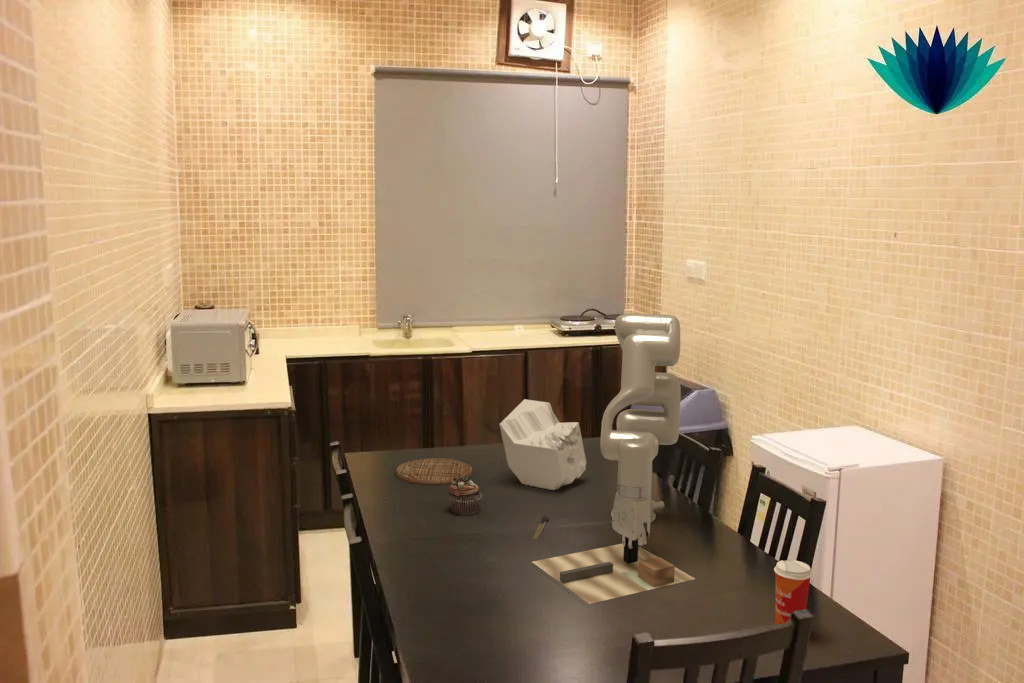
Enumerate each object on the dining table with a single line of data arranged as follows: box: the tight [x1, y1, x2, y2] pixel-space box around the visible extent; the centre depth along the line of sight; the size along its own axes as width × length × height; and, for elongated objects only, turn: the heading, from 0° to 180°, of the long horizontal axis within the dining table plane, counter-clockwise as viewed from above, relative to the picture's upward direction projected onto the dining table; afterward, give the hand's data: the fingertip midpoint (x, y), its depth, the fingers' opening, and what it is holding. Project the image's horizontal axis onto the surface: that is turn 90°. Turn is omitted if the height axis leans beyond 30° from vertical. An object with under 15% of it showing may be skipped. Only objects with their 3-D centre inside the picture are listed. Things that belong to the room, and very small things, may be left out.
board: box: [532, 542, 696, 609], centre depth 213 cm, size 30×26×1 cm
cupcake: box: [448, 476, 483, 516], centre depth 255 cm, size 10×10×10 cm
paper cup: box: [773, 559, 813, 625], centre depth 186 cm, size 8×8×14 cm
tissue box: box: [498, 398, 588, 491], centre depth 279 cm, size 20×16×25 cm
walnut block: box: [638, 556, 676, 587], centre depth 208 cm, size 6×6×4 cm
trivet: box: [396, 457, 473, 486], centre depth 291 cm, size 25×25×2 cm
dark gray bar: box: [560, 562, 613, 583], centre depth 209 cm, size 14×2×2 cm, turn 118°
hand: (630, 561), depth 217 cm, fingers closed
